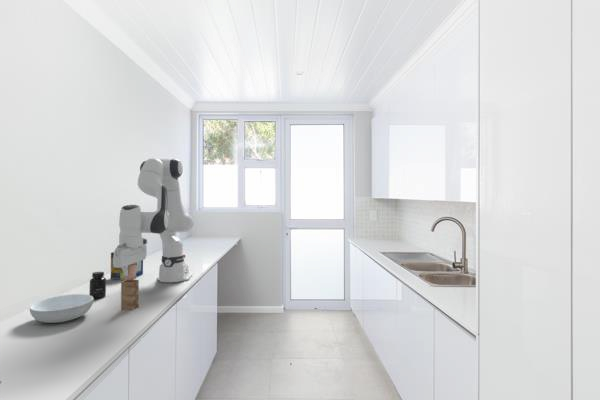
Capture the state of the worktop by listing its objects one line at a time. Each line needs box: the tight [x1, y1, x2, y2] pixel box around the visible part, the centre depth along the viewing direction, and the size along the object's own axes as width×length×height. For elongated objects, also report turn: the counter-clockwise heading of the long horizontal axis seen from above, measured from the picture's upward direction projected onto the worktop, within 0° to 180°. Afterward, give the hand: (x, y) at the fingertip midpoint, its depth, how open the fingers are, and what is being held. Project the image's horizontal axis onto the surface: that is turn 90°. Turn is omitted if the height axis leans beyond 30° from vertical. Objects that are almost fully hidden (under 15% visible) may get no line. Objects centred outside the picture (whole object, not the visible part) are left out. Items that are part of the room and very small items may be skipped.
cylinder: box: [124, 264, 137, 281], centre depth 150 cm, size 5×5×6 cm
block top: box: [120, 279, 140, 292], centre depth 150 cm, size 5×5×4 cm
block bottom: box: [120, 297, 140, 311], centre depth 150 cm, size 5×5×4 cm
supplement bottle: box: [88, 271, 107, 300], centre depth 165 cm, size 7×7×12 cm
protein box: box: [110, 251, 144, 281], centre depth 206 cm, size 10×15×16 cm
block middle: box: [120, 289, 140, 302], centre depth 150 cm, size 5×5×4 cm
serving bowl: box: [29, 293, 95, 324], centre depth 136 cm, size 21×21×7 cm
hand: (130, 273), depth 150 cm, fingers closed on cylinder, 5 cm apart
